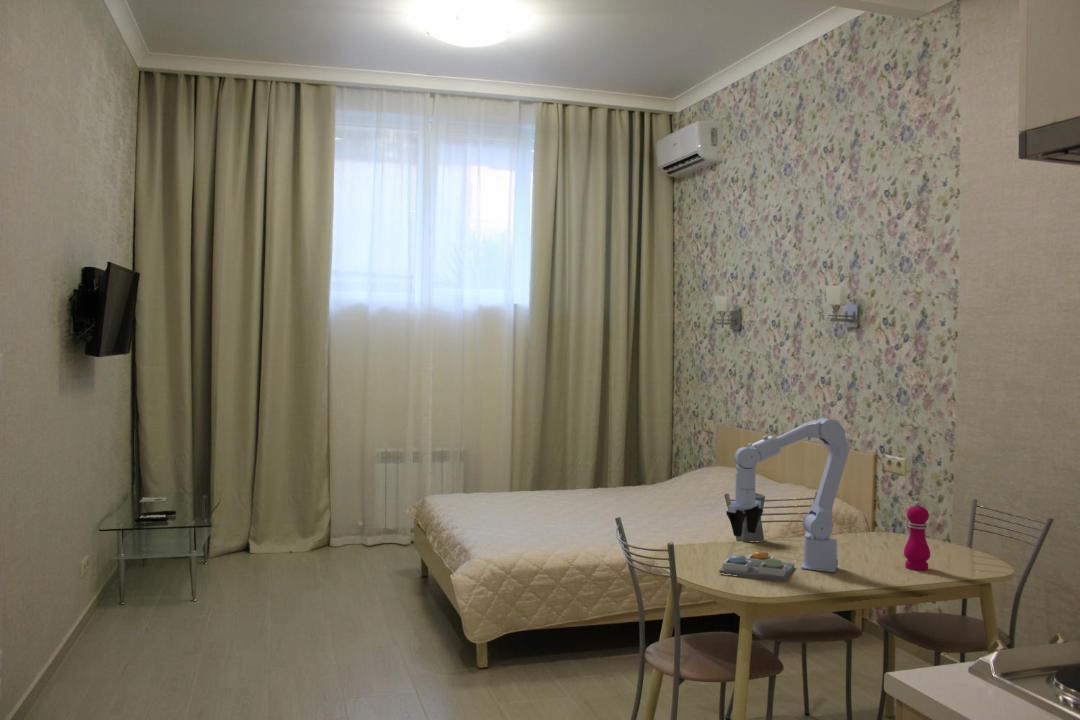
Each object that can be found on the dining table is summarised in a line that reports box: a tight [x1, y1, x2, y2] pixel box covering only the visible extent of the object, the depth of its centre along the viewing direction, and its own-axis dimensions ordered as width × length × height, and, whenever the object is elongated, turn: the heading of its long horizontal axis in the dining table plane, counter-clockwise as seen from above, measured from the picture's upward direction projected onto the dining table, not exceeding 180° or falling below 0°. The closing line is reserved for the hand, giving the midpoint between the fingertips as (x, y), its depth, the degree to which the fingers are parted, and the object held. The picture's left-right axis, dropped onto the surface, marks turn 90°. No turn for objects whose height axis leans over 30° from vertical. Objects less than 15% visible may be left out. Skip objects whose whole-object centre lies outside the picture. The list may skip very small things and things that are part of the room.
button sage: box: [765, 558, 783, 569], centre depth 245 cm, size 5×5×2 cm
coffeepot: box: [736, 492, 766, 543], centre depth 294 cm, size 15×9×18 cm, turn 138°
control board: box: [718, 553, 795, 583], centre depth 251 cm, size 18×19×3 cm
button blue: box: [728, 554, 747, 564], centre depth 249 cm, size 5×5×2 cm
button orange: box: [751, 550, 770, 560], centre depth 255 cm, size 5×5×2 cm
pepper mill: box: [903, 500, 931, 572], centre depth 258 cm, size 7×7×20 cm
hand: (744, 534), depth 257 cm, fingers open, 7 cm apart
